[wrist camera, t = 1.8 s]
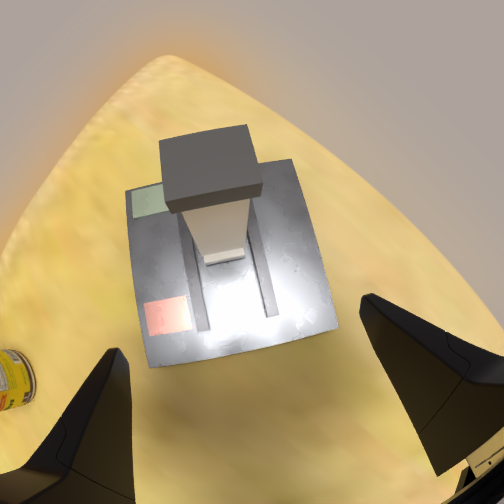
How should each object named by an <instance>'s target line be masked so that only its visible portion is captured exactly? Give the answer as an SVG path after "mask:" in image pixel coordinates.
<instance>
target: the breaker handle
mask: <svg viewBox="0 0 504 504" xmlns="http://www.w3.org/2000/svg"><path fill="white" fill-rule="evenodd" d="M159 149H160V161H161V172H162V182H163V192H164V201H165V204H166V205H167V207H168V209H169V211H170V213H171V214H175V213H179V212H181V213H182V215H183V217H184V219H185V221H186V224H187V226H188V228H189V230H190V232H191V234H192V237H193V239H194V241H195V243H196V245H197V247H198V249H199V251H200V253H201V256H203V257H204V263H205V265H210V264H215V263H220V262H225V261H230V260H235V259H240V258H244V257H245V253H244V249H243V248H245V241H246V231H247V222H248V213H249V204H250V198H256V197H261V192H262V187H263V180H262V176H261V173H260V169H259V165H258V162H257V158H256V154H255V151H254V147H253V144H252V140H251V137H250V133H249V130H248V126H247V124H245V125H238V126H232V127H225V128H219V129H213V130H208V131H202V132H197V133H192V134H187V135H182V136H178V137H173V138H168V139H164V140H160V141H159Z"/></svg>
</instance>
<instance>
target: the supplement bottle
mask: <svg viewBox="0 0 504 504" xmlns="http://www.w3.org/2000/svg"><path fill="white" fill-rule="evenodd" d="M34 391H35V381H34V376H33V372H32V369H31V367H30V365H29V363H28V362H27V360H26V359H25V358H24V357H23V356H22V355H21V354H20V353H19V352H17V351H14V350H0V411H4V410H7V409H11V408H15V407H18V406H22V405H25V404H27V403H28V402H30V400H31V399H32V397H33V395H34Z"/></svg>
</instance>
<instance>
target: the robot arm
mask: <svg viewBox="0 0 504 504" xmlns="http://www.w3.org/2000/svg"><path fill="white" fill-rule="evenodd" d="M359 315H360V318H361V320H362V323H363V325H364V328H365V330H366V332H367V335H368V337H369V339H370V342H371V344H372V347H373V349H374V351H375V353H376V355H377V357H378V358H379V360H380V362H381V364H382V366H383V368H384V369H385V371H386V373H387V375H388V377H389V379H390V381H391V383H392V385H393V386H394V388H395V390H396V392H397V394H398V396H399V398H400V400H401V402H402V404H403V406H404V408H405V410H406V412H407V414H408V416H409V418H410V420H411V422H412V424H413V426H414V428H415V430H416V432H417V434H418V437H419V439H420V441H421V443H422V445H423V447H424V449H425V451H426V454H427V456H428V458H429V460H430V462H431V465H432V467H433V469H434V471H435V473H436V475H437V477H438V476H440V475H441V474H443V473H444V472H446V471H447V470H449V469H450V468H452V467H453V466H455V465H456V464H458V463H459V462H461V461H462V460H463V459H466V460H467V462H468V464H469V466H468V467H466V468H465V469H464V470H462V472H461V476H460V479H459V482H458V485H457V488H456V491H455V494H454V495H453V496H452V497H450V498H449V499H447V500H446V501H444V502H443V503H441V504H504V357H503V356H499V355H497V354H494V353H492V352H489V351H487V350H485V349H482V348H480V347H477V346H475V345H473V344H471V343H468V342H466V341H464V340H462V339H460V338H458V337H456V336H454V335H452V334H450V333H448V332H445V331H444V330H443V329H441V328H439V327H437V326H435V325H433V324H431V323H429V322H427V321H426V320H424V319H422V318H420V317H418V316H416V315H414V314H412V313H410V312H408V311H406V310H405V309H403V308H401V307H399V306H397V305H395V304H393V303H391V302H389V301H387V300H385V299H383V298H381V297H379V296H377V295H376V294H373V293H369V294H366V295H363V296H362V298H361V304H360V310H359ZM0 504H136V502H135V490H134V477H133V457H132V397H131V385H130V371H129V363H128V361H127V359H126V358H125V356H124V355H123V353H122V352H121V350H120V349H119V348H110V349H108V350H107V351H106V352H105V354H104V355H103V356H102V358H101V359H100V361H99V362H98V363H97V365H96V366H95V367H94V369H93V370H92V372H91V373H90V374H89V376H88V377H87V379H86V380H85V382H84V383H83V384H82V386H81V387H80V389H79V390H78V392H77V393H76V394H75V396H74V397H73V399H72V400H71V402H70V403H69V405H68V406H67V408H66V409H65V411H64V412H63V414H62V417H60V418H59V420H58V421H57V423H56V424H55V426H54V427H53V428H52V430H51V431H50V433H49V434H48V436H47V437H46V438H45V439H44V441H43V442H42V443H41V445H40V446H39V447H38V448H37V450H36V451H35V452H34V454H33V455H32V456H31V457H30V459H29V460H28V461H27V462H26V463H25V464H24V465H23V466H22V467H20V468H18V469H16V470H13V471H10V472H7V473H4V474H0Z"/></svg>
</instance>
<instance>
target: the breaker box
mask: <svg viewBox="0 0 504 504" xmlns="http://www.w3.org/2000/svg"><path fill="white" fill-rule="evenodd" d="M258 165H259V169H260V173H261V176H262V180H263V187H262V192H261V197H256V198H250V204H249V213H248V222H247V231H246V241H245V248H243V249H244V253H245V257H244V258H240V259H235V260H230V261H225V262H220V263H215V264H210V265H205V263H204V257H203V256H201V253H200V251H199V249H198V247H197V245H196V243H195V241H194V239H193V237H192V234H191V232H190V230H189V228H188V226H187V224H186V221H185V219H184V217H183V215H182V213H181V212H179V213H175V214H171V213H170V211H169V209H168V207H167V205H166V204H165V201H164V192H163V182H160V183H156V184H151V185H147V186H143V187H139V188H135V189H131V190H127V191H125V196H126V213H127V227H128V239H129V249H130V258H131V267H132V275H133V282H134V289H135V296H136V303H137V309H138V315H139V320H140V326H141V331H142V337H143V342H144V346H145V351H146V356H147V360H148V365H149V368H156V367H163V366H170V365H176V364H183V363H189V362H195V361H201V360H206V359H212V358H217V357H222V356H227V355H232V354H237V353H242V352H247V351H251V350H256V349H260V348H265V347H269V346H273V345H277V344H281V343H285V342H289V341H293V340H297V339H301V338H305V337H308V336H312V335H316V334H319V333H323V332H326V331H330V330H333V329H337V328H339V326H338V321H337V317H336V313H335V309H334V305H333V300H332V296H331V292H330V288H329V284H328V281H327V277H326V273H325V269H324V265H323V262H322V258H321V254H320V251H319V247H318V243H317V240H316V236H315V233H314V229H313V226H312V222H311V219H310V216H309V212H308V209H307V206H306V202H305V199H304V196H303V193H302V190H301V186H300V183H299V180H298V177H297V174H296V171H295V168H294V165H293V162H292V159H286V160H279V161H272V162H265V163H258Z"/></svg>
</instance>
